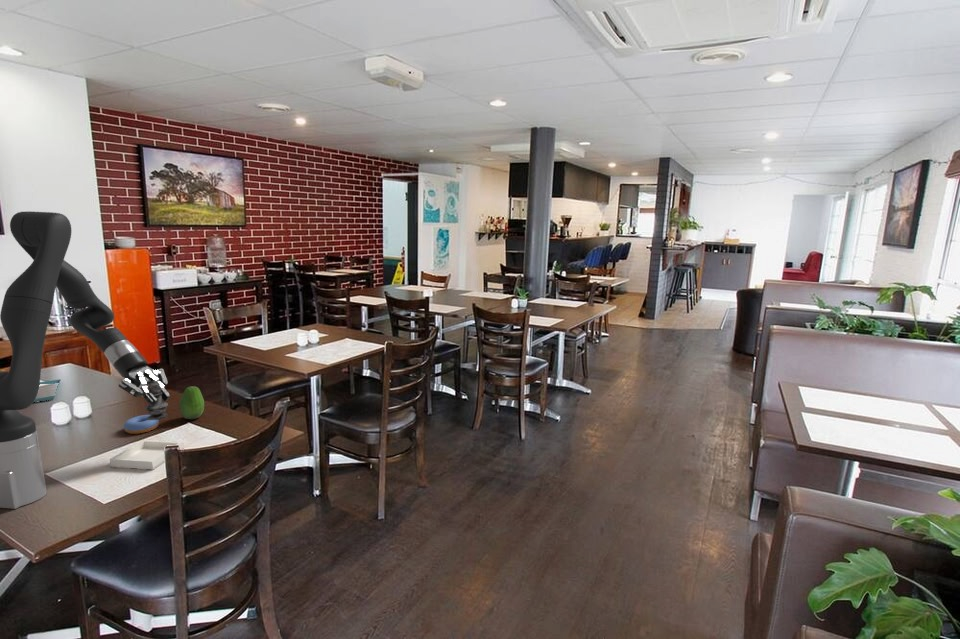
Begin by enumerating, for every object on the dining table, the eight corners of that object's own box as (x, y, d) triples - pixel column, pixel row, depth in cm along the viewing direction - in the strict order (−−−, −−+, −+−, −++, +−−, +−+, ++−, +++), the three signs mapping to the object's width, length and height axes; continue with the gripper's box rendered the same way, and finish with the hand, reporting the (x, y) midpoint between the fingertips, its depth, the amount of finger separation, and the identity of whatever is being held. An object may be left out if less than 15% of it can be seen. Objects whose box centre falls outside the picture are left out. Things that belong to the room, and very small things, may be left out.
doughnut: (133, 437, 161) (133, 423, 161) (117, 432, 166) (117, 418, 166) (165, 429, 170) (165, 416, 170) (149, 424, 175) (149, 412, 174)
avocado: (209, 417, 179) (206, 385, 176) (186, 424, 172) (183, 391, 170) (199, 412, 183) (196, 381, 181) (176, 418, 177) (172, 386, 175)
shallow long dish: (33, 387, 209) (32, 381, 208) (61, 383, 214) (61, 378, 214) (24, 406, 188) (23, 400, 187) (56, 401, 193) (55, 395, 193)
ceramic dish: (153, 469, 141) (152, 461, 140) (110, 467, 142) (109, 459, 142) (184, 449, 154) (183, 442, 153) (144, 447, 155) (144, 439, 154)
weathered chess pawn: (157, 421, 147) (154, 382, 145) (141, 419, 148) (137, 380, 146) (173, 414, 153) (170, 376, 151) (157, 412, 154) (153, 375, 152)
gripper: (108, 356, 142) (146, 401, 141) (153, 345, 156) (187, 386, 154) (96, 372, 145) (133, 416, 143) (141, 360, 158) (175, 401, 157)
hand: (161, 401), depth 149 cm, fingers closed on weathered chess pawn, 3 cm apart
